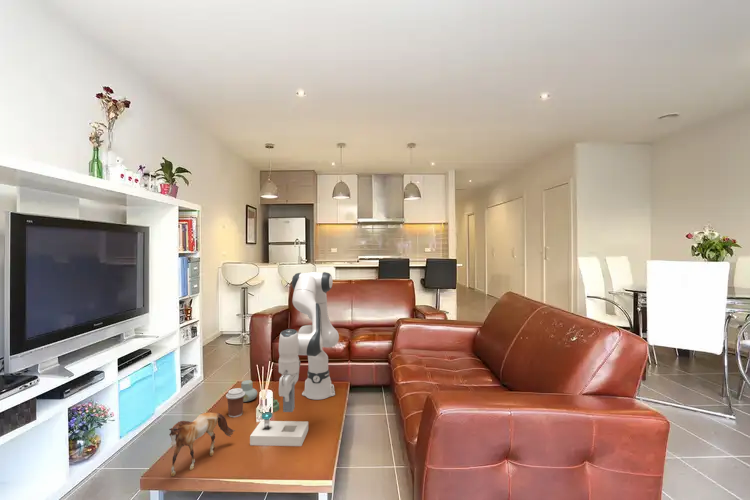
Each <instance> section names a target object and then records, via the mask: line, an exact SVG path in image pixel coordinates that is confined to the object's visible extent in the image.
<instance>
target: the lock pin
mask: <svg viewBox="0 0 750 500" xmlns="http://www.w3.org/2000/svg"><path fill="white" fill-rule="evenodd" d="M271 418H273V413H271V412H265V413H261V419H262V420H263V421H264V429H265V430H268V429H269V428H270V427H269V421H270V419H271Z"/></svg>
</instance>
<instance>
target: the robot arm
mask: <svg viewBox="0 0 750 500" xmlns="http://www.w3.org/2000/svg"><path fill="white" fill-rule="evenodd" d="M333 281H334V280H333V277H332V274H331V273H329V272H326V271H323V272H321V271H320V272H318V271H309V272H298V273H295V274H294V275H293V276H292V277H291V287H292V289H293V294H292V301H291V302H292V305H293V307H294V309H296V310H297V312H298V311H299V313H302V314H305V315H307V317H308V319H310V320H311V324H308V325H302V326H301V327H300V328H299V329H298V330H296V329H291V328H287V329H284V330H282V331H281V332H280V334H279V339H278V355H279V356H278V357H279V358H278V373H279V374H281V376H280V377H279V381H278V382H279V383H278V395H279V397H283V396H284V397H285V402H289V400H290V396H289V393H290V391H291V390H292V384H293V382H294V381H295V385H296V384H297V382H298V381H299V376H300V375H299V374H300V367H301V360H300V357H299V356H307V361H308V367H307V369H308V370H307V378H306V379H305V381H304V390H303V391H302V393H301V396H303V397H305V398H307V399H310V400H324V399H328V398H330V397H334V396H336V391H335V386H334V384H333V383H332V380H331V377H330V369H329V356H328V354H327V353H326V352H325V351H324V349H323V348H333V347H335V346H337V344H338V343H339V340H340V335H339V331H338V330H337V329H336V328H335V327H334V326H333V325H332V322H331V321H330V318H329V313H328V311H329V310H328V298H327V297H328V296H327V293H328V292H329V291H330V290H331V289H332V287H333Z"/></svg>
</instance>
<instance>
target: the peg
mask: <svg viewBox="0 0 750 500" xmlns="http://www.w3.org/2000/svg"><path fill="white" fill-rule="evenodd" d="M295 386H296V384H295V381H294V382H293V384H292V390H291V391H290V393H289V396H290V400H289V402H285V397H284V396H282V413H293V412H294V410H295V404H296V403H295V400H296V399H295V397H296V396H295V395H296V394H295V392H296V391H295Z"/></svg>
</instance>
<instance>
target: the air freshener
mask: <svg viewBox="0 0 750 500" xmlns="http://www.w3.org/2000/svg"><path fill="white" fill-rule="evenodd" d="M240 383H241V385H240V388H241V389H243V391H244V392H245V396H244V399H243V403H247V402H251V401H253V400H255V399H256V398H257V397H258V390H257V389H255V388H254V387H253V384H254V383H253V381H252V380H251V379H246V380H242V381H241V382H240Z"/></svg>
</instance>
